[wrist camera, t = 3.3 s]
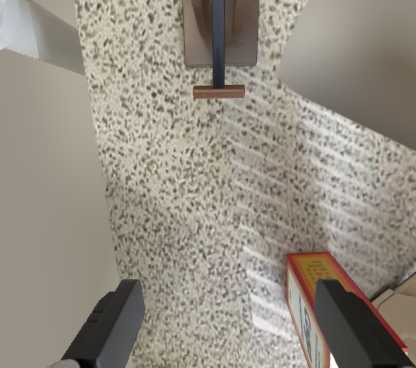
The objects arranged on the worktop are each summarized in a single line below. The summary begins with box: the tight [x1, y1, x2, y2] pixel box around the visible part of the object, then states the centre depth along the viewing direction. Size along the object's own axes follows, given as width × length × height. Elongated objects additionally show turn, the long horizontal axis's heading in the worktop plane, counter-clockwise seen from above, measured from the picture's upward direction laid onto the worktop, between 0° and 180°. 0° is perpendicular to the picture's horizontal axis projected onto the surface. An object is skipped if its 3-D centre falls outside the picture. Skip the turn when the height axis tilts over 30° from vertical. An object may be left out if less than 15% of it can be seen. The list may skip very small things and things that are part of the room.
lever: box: [193, 0, 245, 99], centre depth 20 cm, size 12×5×2 cm, turn 1°
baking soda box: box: [286, 252, 408, 368], centre depth 29 cm, size 10×6×16 cm
